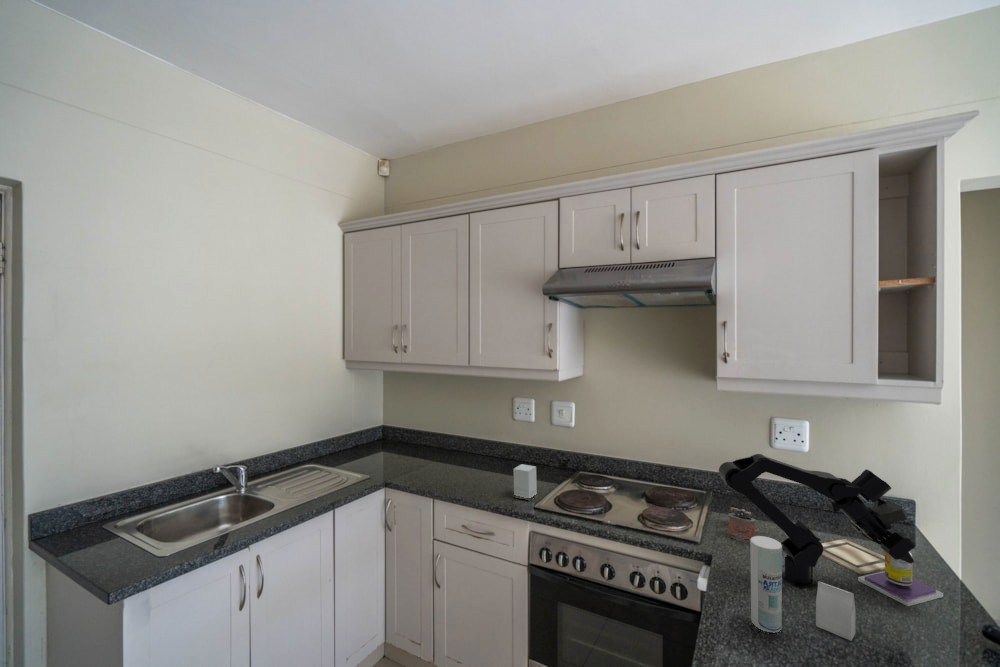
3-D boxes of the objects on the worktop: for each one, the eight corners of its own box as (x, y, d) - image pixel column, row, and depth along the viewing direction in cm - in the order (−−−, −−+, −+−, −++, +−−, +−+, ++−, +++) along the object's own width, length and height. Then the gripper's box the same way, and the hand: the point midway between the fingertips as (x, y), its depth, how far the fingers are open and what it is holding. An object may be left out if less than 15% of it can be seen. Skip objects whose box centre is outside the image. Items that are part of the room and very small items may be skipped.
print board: (859, 574, 128) (860, 572, 128) (807, 548, 144) (807, 545, 144) (900, 565, 133) (900, 563, 133) (845, 540, 148) (845, 538, 148)
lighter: (756, 541, 148) (756, 511, 148) (753, 545, 146) (753, 514, 146) (730, 533, 154) (730, 504, 154) (727, 537, 151) (727, 507, 151)
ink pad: (907, 606, 114) (907, 600, 114) (858, 580, 125) (858, 575, 125) (943, 597, 117) (943, 591, 117) (891, 572, 129) (891, 567, 129)
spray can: (770, 615, 111) (770, 535, 111) (788, 634, 104) (788, 548, 104) (744, 616, 111) (744, 536, 110) (761, 635, 104) (760, 549, 104)
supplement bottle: (888, 573, 125) (888, 536, 125) (914, 582, 121) (915, 544, 120) (881, 579, 122) (882, 542, 122) (908, 589, 118) (909, 550, 117)
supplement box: (537, 496, 190) (537, 466, 190) (528, 502, 184) (528, 471, 184) (522, 492, 194) (521, 463, 194) (513, 498, 188) (512, 468, 188)
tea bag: (851, 641, 102) (851, 597, 102) (815, 626, 107) (816, 584, 107) (855, 633, 104) (855, 590, 104) (820, 619, 109) (820, 578, 109)
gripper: (907, 507, 112) (958, 555, 111) (862, 481, 131) (905, 522, 129) (870, 535, 114) (920, 583, 112) (831, 506, 132) (873, 546, 131)
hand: (904, 556), depth 121 cm, fingers closed on supplement bottle, 5 cm apart
